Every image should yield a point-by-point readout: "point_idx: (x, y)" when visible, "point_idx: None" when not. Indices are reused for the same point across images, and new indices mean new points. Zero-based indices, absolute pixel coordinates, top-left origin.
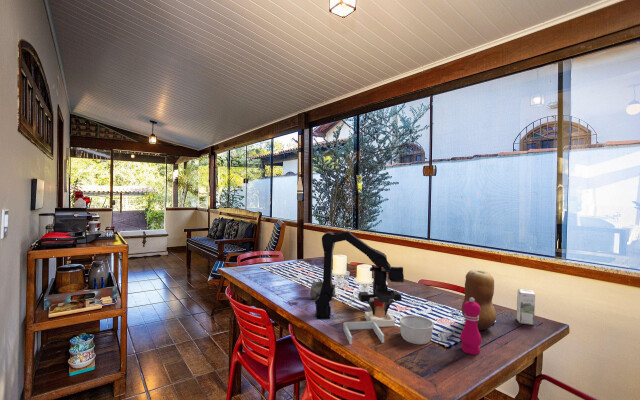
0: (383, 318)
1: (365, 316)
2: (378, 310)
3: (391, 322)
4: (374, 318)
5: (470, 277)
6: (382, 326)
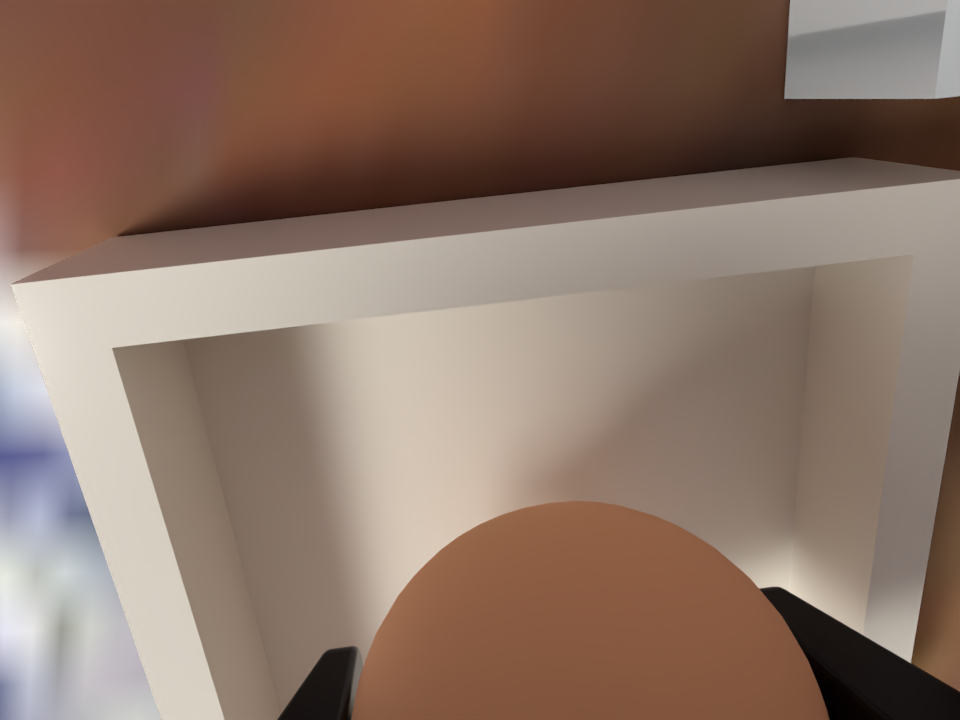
0: None
1: None
2: (737, 701)
3: (182, 252)
4: None
5: None
6: (507, 197)
